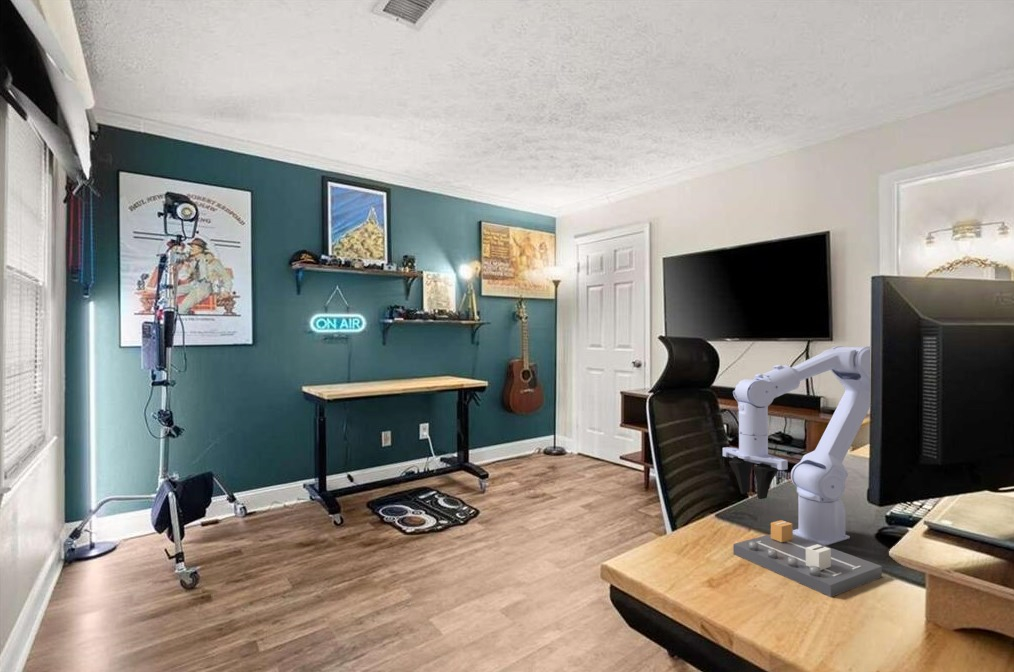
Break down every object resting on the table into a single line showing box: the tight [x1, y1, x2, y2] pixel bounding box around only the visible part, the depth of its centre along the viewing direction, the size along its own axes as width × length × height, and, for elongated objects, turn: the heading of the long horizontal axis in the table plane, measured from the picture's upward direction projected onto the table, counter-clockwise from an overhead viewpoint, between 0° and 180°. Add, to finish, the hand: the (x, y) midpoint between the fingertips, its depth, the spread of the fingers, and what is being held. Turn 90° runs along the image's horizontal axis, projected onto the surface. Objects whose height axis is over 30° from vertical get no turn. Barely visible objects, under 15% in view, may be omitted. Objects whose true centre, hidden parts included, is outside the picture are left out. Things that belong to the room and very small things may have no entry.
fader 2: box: [806, 544, 831, 570], centre depth 89 cm, size 4×2×3 cm, turn 117°
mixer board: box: [732, 533, 883, 598], centre depth 95 cm, size 16×19×3 cm
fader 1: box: [770, 519, 794, 542], centre depth 102 cm, size 4×2×3 cm, turn 117°
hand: (753, 495), depth 108 cm, fingers open, 4 cm apart
